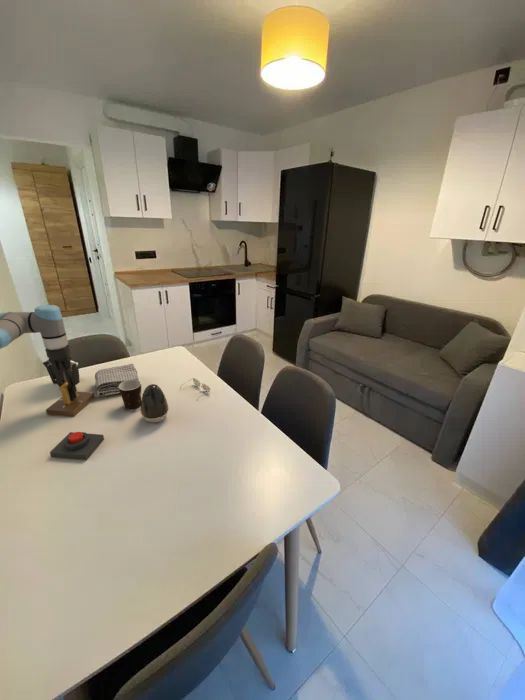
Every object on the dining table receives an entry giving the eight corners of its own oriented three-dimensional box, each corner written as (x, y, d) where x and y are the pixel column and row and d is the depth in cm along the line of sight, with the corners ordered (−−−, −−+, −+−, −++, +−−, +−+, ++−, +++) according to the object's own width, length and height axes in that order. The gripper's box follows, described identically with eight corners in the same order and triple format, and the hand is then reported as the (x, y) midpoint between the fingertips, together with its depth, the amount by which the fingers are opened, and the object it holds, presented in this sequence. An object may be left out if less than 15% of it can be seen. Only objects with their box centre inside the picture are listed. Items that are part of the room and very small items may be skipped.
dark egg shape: (136, 423, 112) (130, 389, 106) (152, 408, 121) (148, 376, 115) (159, 428, 110) (155, 394, 104) (174, 413, 119) (171, 381, 113)
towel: (96, 383, 137) (93, 368, 134) (137, 375, 146) (135, 361, 143) (98, 399, 125) (94, 383, 122) (142, 389, 134) (140, 374, 131)
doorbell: (51, 457, 94) (48, 448, 93) (71, 436, 104) (69, 427, 102) (87, 460, 94) (84, 450, 92) (104, 439, 103) (102, 430, 101)
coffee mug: (130, 398, 127) (127, 378, 123) (148, 401, 126) (145, 381, 122) (112, 413, 117) (108, 392, 113) (131, 417, 115) (128, 395, 111)
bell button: (66, 443, 96) (65, 439, 95) (74, 435, 99) (73, 431, 98) (78, 444, 95) (77, 440, 95) (86, 436, 99) (85, 432, 98)
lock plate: (74, 416, 114) (72, 411, 113) (47, 414, 114) (45, 409, 113) (95, 397, 127) (94, 392, 126) (70, 395, 127) (69, 390, 126)
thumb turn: (68, 404, 117) (64, 386, 114) (64, 404, 117) (59, 386, 114) (77, 397, 122) (73, 380, 119) (73, 396, 122) (68, 379, 119)
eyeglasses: (211, 394, 133) (210, 387, 131) (197, 402, 128) (196, 395, 126) (193, 383, 141) (192, 376, 139) (179, 390, 136) (177, 383, 134)
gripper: (82, 343, 113) (93, 395, 122) (45, 341, 113) (59, 392, 123) (69, 351, 106) (82, 405, 115) (29, 348, 107) (46, 402, 116)
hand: (70, 398), depth 119 cm, fingers closed on thumb turn, 2 cm apart
